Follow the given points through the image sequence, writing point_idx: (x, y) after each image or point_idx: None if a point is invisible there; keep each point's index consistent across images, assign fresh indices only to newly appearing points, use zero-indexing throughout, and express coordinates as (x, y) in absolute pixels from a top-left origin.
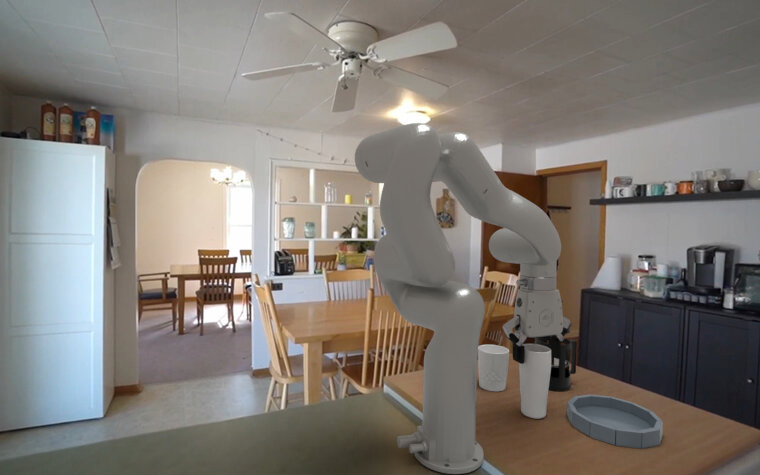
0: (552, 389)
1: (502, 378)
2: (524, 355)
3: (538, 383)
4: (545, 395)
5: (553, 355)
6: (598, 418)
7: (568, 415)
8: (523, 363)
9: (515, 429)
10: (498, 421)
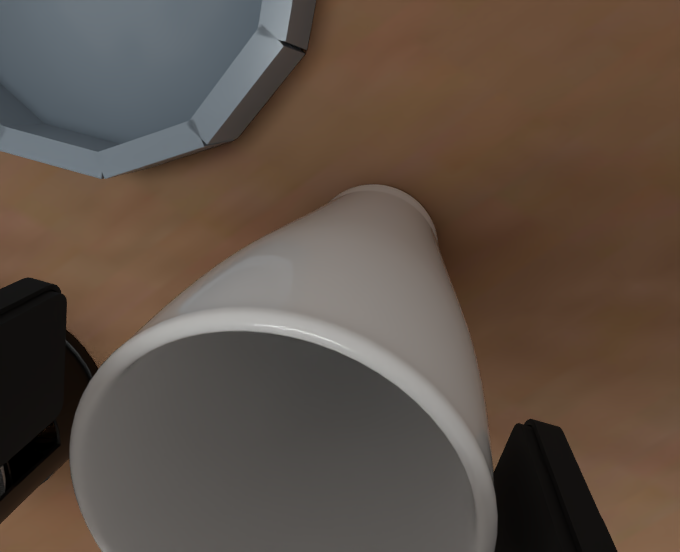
0: (75, 345)
1: None
2: (543, 484)
3: (418, 238)
4: (356, 200)
5: (54, 355)
6: (133, 1)
7: (249, 116)
8: (527, 420)
9: (611, 187)
10: (605, 288)
